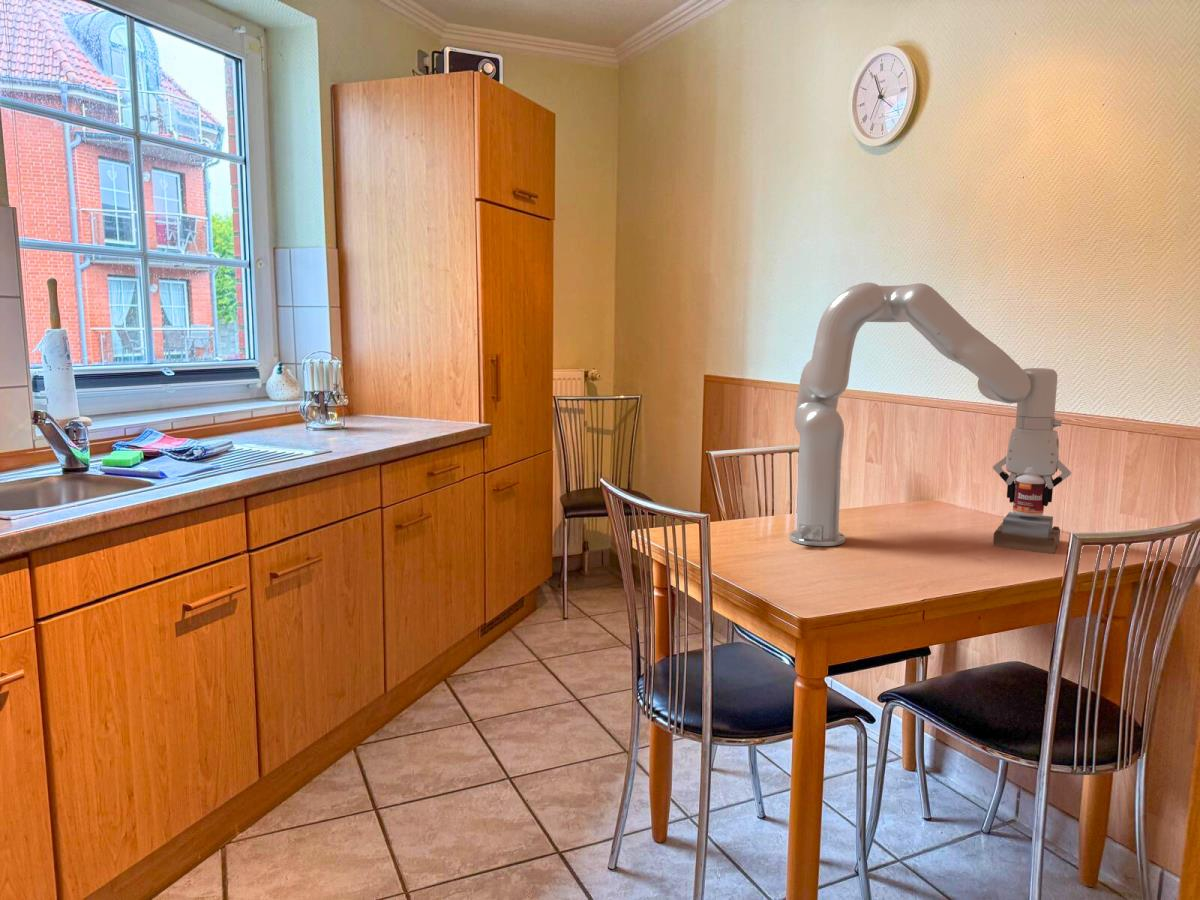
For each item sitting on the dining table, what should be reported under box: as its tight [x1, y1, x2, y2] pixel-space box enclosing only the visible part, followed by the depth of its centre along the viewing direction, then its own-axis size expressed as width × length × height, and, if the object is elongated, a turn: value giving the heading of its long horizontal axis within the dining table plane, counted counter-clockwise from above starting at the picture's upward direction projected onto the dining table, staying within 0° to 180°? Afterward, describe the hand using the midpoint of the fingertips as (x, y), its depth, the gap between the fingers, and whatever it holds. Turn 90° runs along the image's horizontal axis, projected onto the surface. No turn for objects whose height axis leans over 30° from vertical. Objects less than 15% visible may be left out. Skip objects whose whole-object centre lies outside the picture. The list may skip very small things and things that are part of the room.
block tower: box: [992, 511, 1061, 555], centre depth 185 cm, size 12×12×6 cm
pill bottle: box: [1012, 467, 1047, 516], centre depth 184 cm, size 6×6×11 cm
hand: (1028, 502), depth 184 cm, fingers closed on pill bottle, 6 cm apart
